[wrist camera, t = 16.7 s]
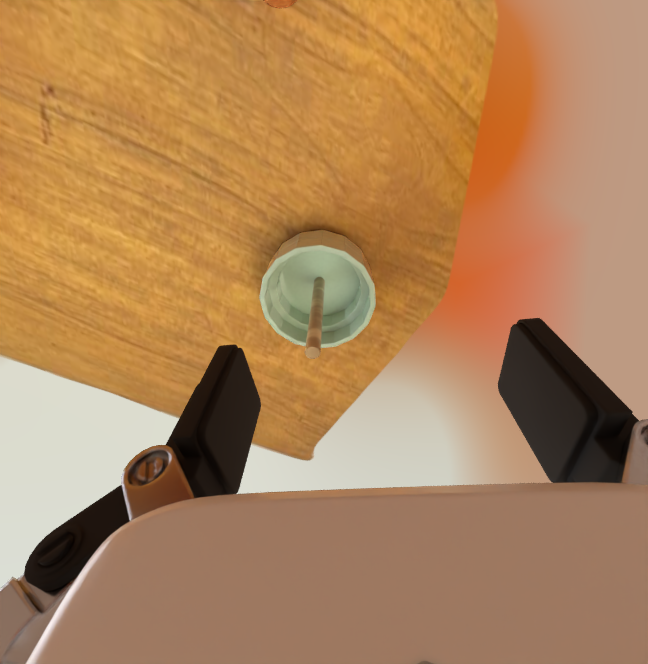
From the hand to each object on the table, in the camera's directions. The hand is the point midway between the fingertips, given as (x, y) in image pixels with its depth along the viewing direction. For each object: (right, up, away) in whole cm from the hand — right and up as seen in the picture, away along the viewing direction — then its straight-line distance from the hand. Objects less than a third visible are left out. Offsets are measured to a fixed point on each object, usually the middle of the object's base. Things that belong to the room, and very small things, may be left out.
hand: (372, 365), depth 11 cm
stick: (-2, +8, +30) cm, 31 cm away
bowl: (-2, +8, +30) cm, 31 cm away
